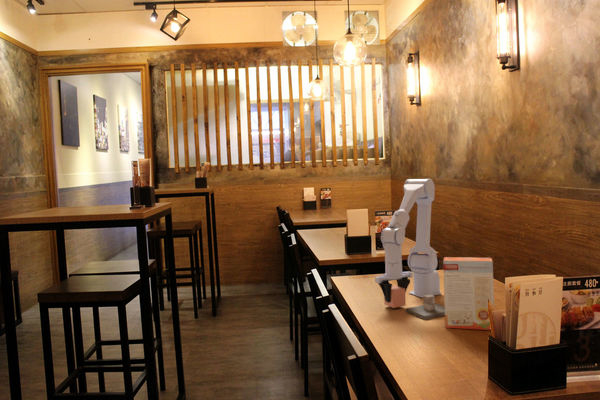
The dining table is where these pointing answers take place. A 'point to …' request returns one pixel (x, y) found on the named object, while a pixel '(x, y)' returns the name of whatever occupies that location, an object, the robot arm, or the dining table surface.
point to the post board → (426, 313)
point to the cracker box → (468, 292)
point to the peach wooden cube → (396, 297)
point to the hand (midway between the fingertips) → (394, 300)
